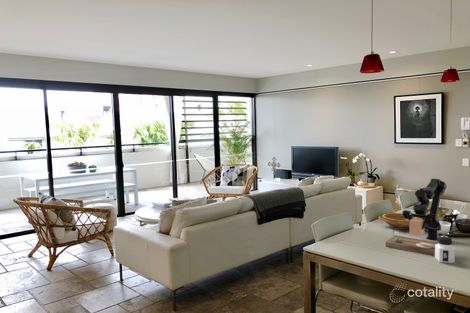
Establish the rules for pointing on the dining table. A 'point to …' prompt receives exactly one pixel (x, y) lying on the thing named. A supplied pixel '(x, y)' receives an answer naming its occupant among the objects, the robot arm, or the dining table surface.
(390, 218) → the wooden bowl
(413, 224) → the peach colored cube
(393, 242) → the walnut board
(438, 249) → the container
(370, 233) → the dining table surface
